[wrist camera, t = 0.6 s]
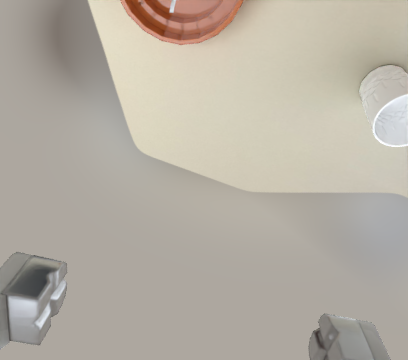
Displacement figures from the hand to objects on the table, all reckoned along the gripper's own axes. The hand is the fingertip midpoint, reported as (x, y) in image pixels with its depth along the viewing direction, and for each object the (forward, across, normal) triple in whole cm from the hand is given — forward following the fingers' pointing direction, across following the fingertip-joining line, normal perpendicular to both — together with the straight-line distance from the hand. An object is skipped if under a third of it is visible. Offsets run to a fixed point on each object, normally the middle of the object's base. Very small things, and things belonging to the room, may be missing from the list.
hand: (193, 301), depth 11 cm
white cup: (+46, -24, -3) cm, 52 cm away
